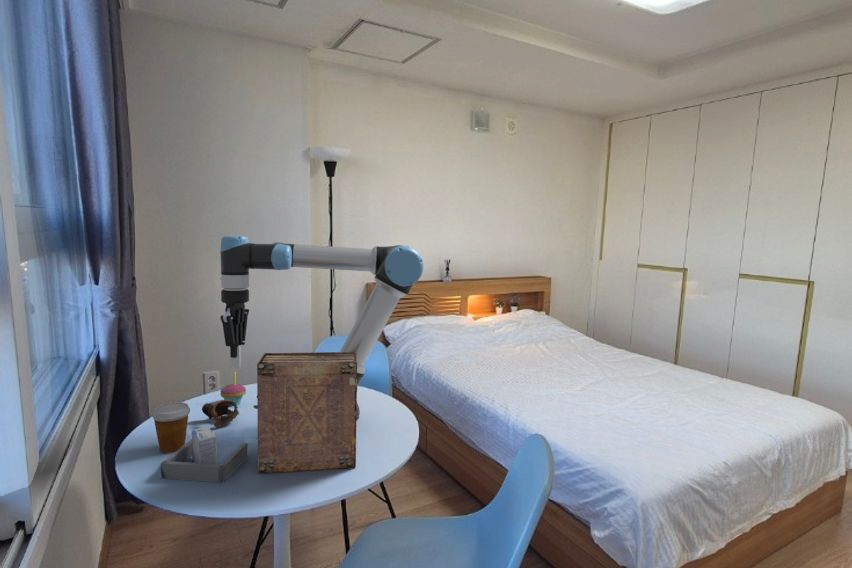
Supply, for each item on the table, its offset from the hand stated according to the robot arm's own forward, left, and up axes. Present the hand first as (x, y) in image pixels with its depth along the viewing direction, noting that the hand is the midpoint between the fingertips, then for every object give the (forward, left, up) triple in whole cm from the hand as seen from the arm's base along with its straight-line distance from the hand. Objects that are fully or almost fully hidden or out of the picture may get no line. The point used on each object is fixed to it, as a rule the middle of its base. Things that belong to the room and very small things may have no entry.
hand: (235, 366), depth 131 cm
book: (-26, +11, -23) cm, 36 cm away
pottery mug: (+11, -11, -23) cm, 27 cm away
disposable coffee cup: (+15, +8, -23) cm, 28 cm away
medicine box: (+2, +15, -23) cm, 27 cm away
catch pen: (0, +16, -22) cm, 28 cm away
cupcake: (+14, -26, -23) cm, 37 cm away
